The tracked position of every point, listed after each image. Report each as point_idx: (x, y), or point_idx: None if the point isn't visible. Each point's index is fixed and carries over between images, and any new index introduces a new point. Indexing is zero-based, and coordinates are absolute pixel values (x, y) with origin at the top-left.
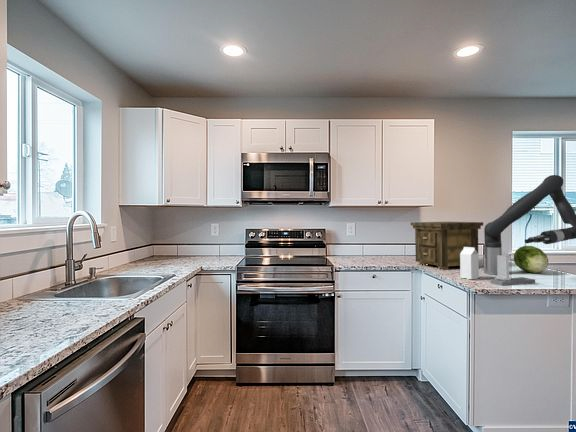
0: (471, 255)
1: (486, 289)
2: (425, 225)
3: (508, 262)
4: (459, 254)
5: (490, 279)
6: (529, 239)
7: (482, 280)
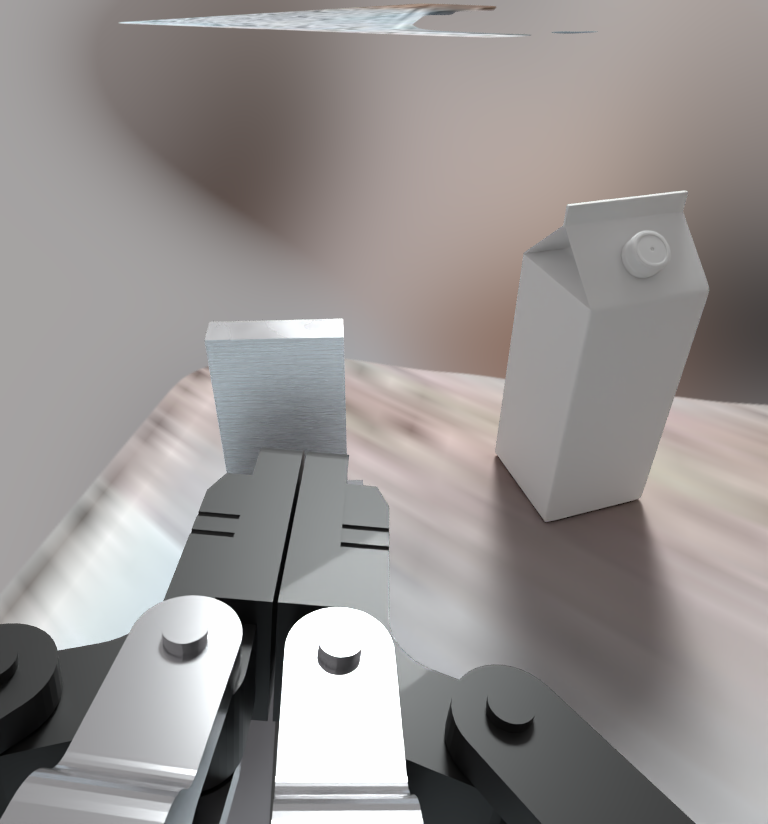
0: (524, 263)
1: (189, 378)
2: None
3: (215, 402)
4: None
5: (360, 481)
6: (242, 519)
7: (472, 511)
